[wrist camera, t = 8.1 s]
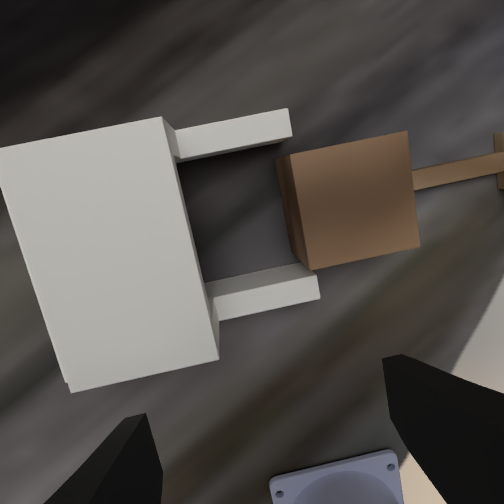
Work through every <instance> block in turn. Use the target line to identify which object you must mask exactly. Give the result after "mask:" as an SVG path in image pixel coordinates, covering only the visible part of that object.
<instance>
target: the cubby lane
mask: <svg viewBox="0 0 504 504" xmlns="http://www.w3.org/2000/svg"><path fill="white" fill-rule="evenodd" d="M290 137H292V130H291V124H290V119H289V113H288V108H285V109H280V110H275V111H270V112H265V113H260V114H255V115H250V116H245V117H240V118H235V119H230V120H225V121H220V122H215V123H210V124H205V125H200V126H195V127H190V128H185V129H180V130H174V129H173V128H172V127H171V126H170V125H169V124H168V123H167V122H166V121H165V120H164V119H163V117H162V116H161V117H156V118H151V119H146V120H141V121H136V122H130V123H125V124H120V125H115V126H110V127H105V128H100V129H95V130H90V131H85V132H80V133H75V134H70V135H65V136H59V137H54V138H49V139H44V140H39V141H34V142H29V143H24V144H19V145H14V146H9V147H4V148H0V187H1V190H2V193H3V196H4V199H5V202H6V205H7V208H8V211H9V214H10V217H11V220H12V223H13V226H14V229H15V232H16V235H17V238H18V241H19V244H20V247H21V250H22V253H23V257H24V260H25V263H26V266H27V269H28V272H29V275H30V278H31V281H32V284H33V287H34V290H35V293H36V296H37V299H38V302H39V305H40V308H41V311H42V314H43V317H44V320H45V323H46V326H47V329H48V332H49V335H50V338H51V341H52V344H53V347H54V350H55V353H56V356H57V359H58V362H59V365H60V368H61V371H62V374H63V377H64V380H65V383H68V386H69V389H70V392H71V393H74V392H78V391H83V390H87V389H92V388H96V387H101V386H105V385H109V384H114V383H118V382H123V381H127V380H132V379H136V378H140V377H145V376H149V375H154V374H158V373H162V372H167V371H171V370H176V369H180V368H185V367H189V366H193V365H198V364H202V363H207V362H211V361H215V360H219V321H222V320H226V319H231V318H235V317H240V316H244V315H249V314H253V313H258V312H262V311H267V310H271V309H276V308H280V307H285V306H289V305H294V304H298V303H303V302H307V301H312V300H316V299H320V293H319V287H318V281H317V275H316V274H315V273H314V272H313V271H312V270H311V271H310V270H309V269H308V268H307V267H306V266H305V265H304V264H303V263H302V262H299V263H294V264H290V265H285V266H280V267H276V268H271V269H266V270H262V271H257V272H253V273H248V274H243V275H239V276H234V277H230V278H225V279H220V280H216V281H211V282H207V283H204V282H203V278H202V273H201V269H200V265H199V261H198V256H197V252H196V248H195V244H194V239H193V235H192V231H191V227H190V222H189V218H188V214H187V210H186V205H185V201H184V197H183V193H182V188H181V184H180V180H179V176H178V171H177V167H176V163H180V162H185V161H190V160H195V159H200V158H205V157H210V156H215V155H220V154H225V153H230V152H235V151H240V150H245V149H249V148H254V147H259V146H264V145H269V144H274V143H279V142H283V141H284V140H286V139H288V138H290Z"/></svg>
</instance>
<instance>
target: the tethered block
mask: <svg viewBox="0 0 504 504" xmlns="http://www.w3.org/2000/svg"><path fill="white" fill-rule="evenodd" d="M494 142H495V153H490V154H486V155H481V156H476V157H471V158H467V159H462V160H457V161H452V162H447V163H443V164H438V165H433V166H428V167H424V168H419V169H414V170H412V169H411V160H410V151H409V142H408V133H407V131H403V132H398V133H393V134H388V135H383V136H379V137H374V138H369V139H364V140H359V141H354V142H349V143H344V144H339V145H335V146H330V147H325V148H320V149H315V150H310V151H305V152H300V153H295V154H290V155H287V156H284V157H281V158H277V159H274V160H275V165H276V171H277V176H278V181H279V187H280V192H281V198H282V203H283V209H284V214H285V220H286V225H287V230H288V236H289V241H290V247H291V251H292V252H293V253H294V254H295V256H296V257H297V258H298V259H299V260H300V261H301V262H302V263H303V264H304V265H305V266H306V267H307V268H308V269H309V270H310V271H311V270H316V269H320V268H325V267H329V266H334V265H338V264H343V263H348V262H352V261H357V260H361V259H366V258H371V257H375V256H380V255H384V254H389V253H393V252H398V251H403V250H407V249H412V248H416V247H420V239H419V231H418V222H417V213H416V204H415V195H414V190H418V189H422V188H427V187H432V186H437V185H441V184H446V183H451V182H456V181H460V180H465V179H470V178H475V177H479V176H484V175H489V174H493V173H497V185H498V189H504V132H500V133H495V134H494Z"/></svg>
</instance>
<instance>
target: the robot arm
mask: <svg viewBox="0 0 504 504" xmlns="http://www.w3.org/2000/svg"><path fill="white" fill-rule="evenodd" d="M382 363H383V370H384V377H385V384H386V391H387V398H388V406H389V413H390V418H391V420H392V422H393V424H394V426H395V428H396V430H397V431H398V433H399V435H400V437H401V439H402V440H403V442H404V444H405V446H406V447H407V449H408V450H409V452H410V453H411V455H412V456H413V457H414V459H415V460H416V462H417V463H418V464H419V466H420V467H421V469H422V470H423V471H424V473H425V474H426V475H427V477H428V478H429V480H430V481H431V482H432V484H433V485H434V486H435V488H436V489H437V490H438V492H439V493H440V495H441V496H442V497H443V499H444V500H445V501H446V503H447V504H504V394H503V393H500V392H497V391H495V390H492V389H489V388H486V387H483V386H480V385H478V384H475V383H472V382H469V381H467V380H464V379H462V378H459V377H457V376H454V375H452V374H449V373H447V372H445V371H442V370H440V369H437V368H435V367H433V366H430V365H428V364H426V363H423V362H421V361H418V360H416V359H414V358H411V357H408V356H406V355H403V354H400V355H395V356H391V357H387V358H382ZM389 464H391V465H390V466H388V465H389ZM162 480H163V470H162V467H161V463H160V460H159V457H158V453H157V450H156V446H155V443H154V439H153V436H152V432H151V429H150V426H149V422H148V419H147V415H146V413H144V414H140V415H136V416H131V417H127V418H125V419H124V420H123V421H122V422H121V423H120V424H119V425H118V426H117V427H116V428H115V429H114V430H113V431H112V432H111V433H110V434H109V436H108V437H107V438H106V439H105V440H104V441H103V442H102V443H101V445H100V446H99V447H98V448H97V449H96V450H95V451H94V452H93V453H92V454H91V456H90V457H89V458H88V459H87V460H86V461H85V462H84V463H83V464H82V465H81V466H80V468H79V469H78V470H77V471H76V472H75V473H74V474H73V475H72V476H71V477H70V478H69V479H68V480H67V481H66V482H65V483H64V484H63V485H62V486H61V487H60V488H59V489H58V490H57V491H56V492H55V493H54V494H53V495H52V496H51V497H50V498H49V499H48V500H47V501H46V502H45V503H44V504H161V495H162ZM269 486H270V492H271V496H272V500H273V504H404V502H403V494H402V487H401V480H400V473H399V466H398V459H397V456H396V454H395V453H394V451H392V450H390V449H387V450H382V451H378V452H374V453H370V454H366V455H362V456H358V457H353V458H349V459H345V460H341V461H337V462H333V463H329V464H324V465H320V466H316V467H312V468H308V469H304V470H299V471H295V472H291V473H287V474H283V475H279V476H275V477H273V478H272V479H271V480H270V482H269ZM277 491H282V492H280V493H276V492H277Z"/></svg>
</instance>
